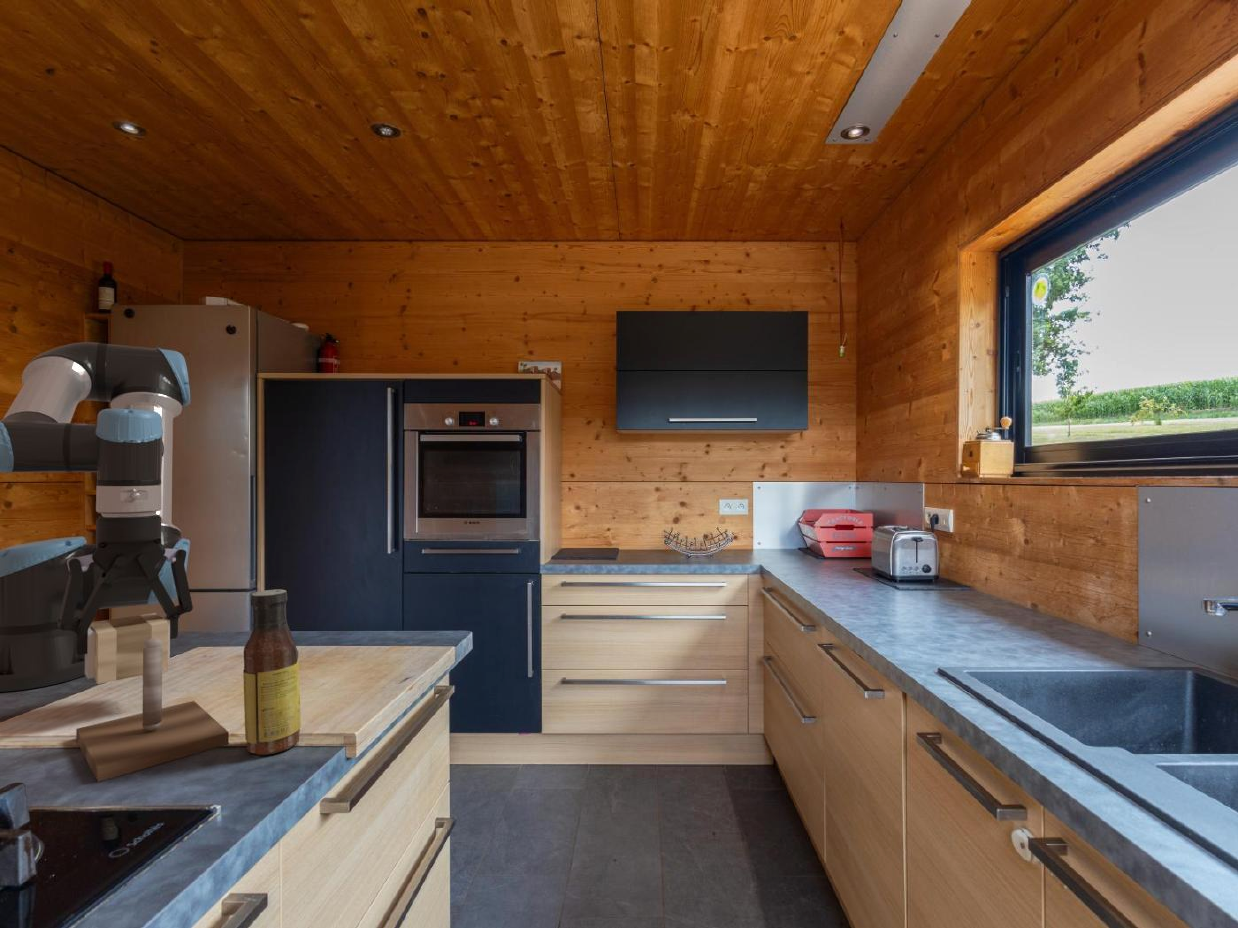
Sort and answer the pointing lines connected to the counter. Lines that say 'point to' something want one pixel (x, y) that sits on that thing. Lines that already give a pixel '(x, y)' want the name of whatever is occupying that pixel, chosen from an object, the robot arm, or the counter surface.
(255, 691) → the sauce bottle
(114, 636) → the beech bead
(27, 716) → the counter surface
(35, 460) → the robot arm
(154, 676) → the rod stand
